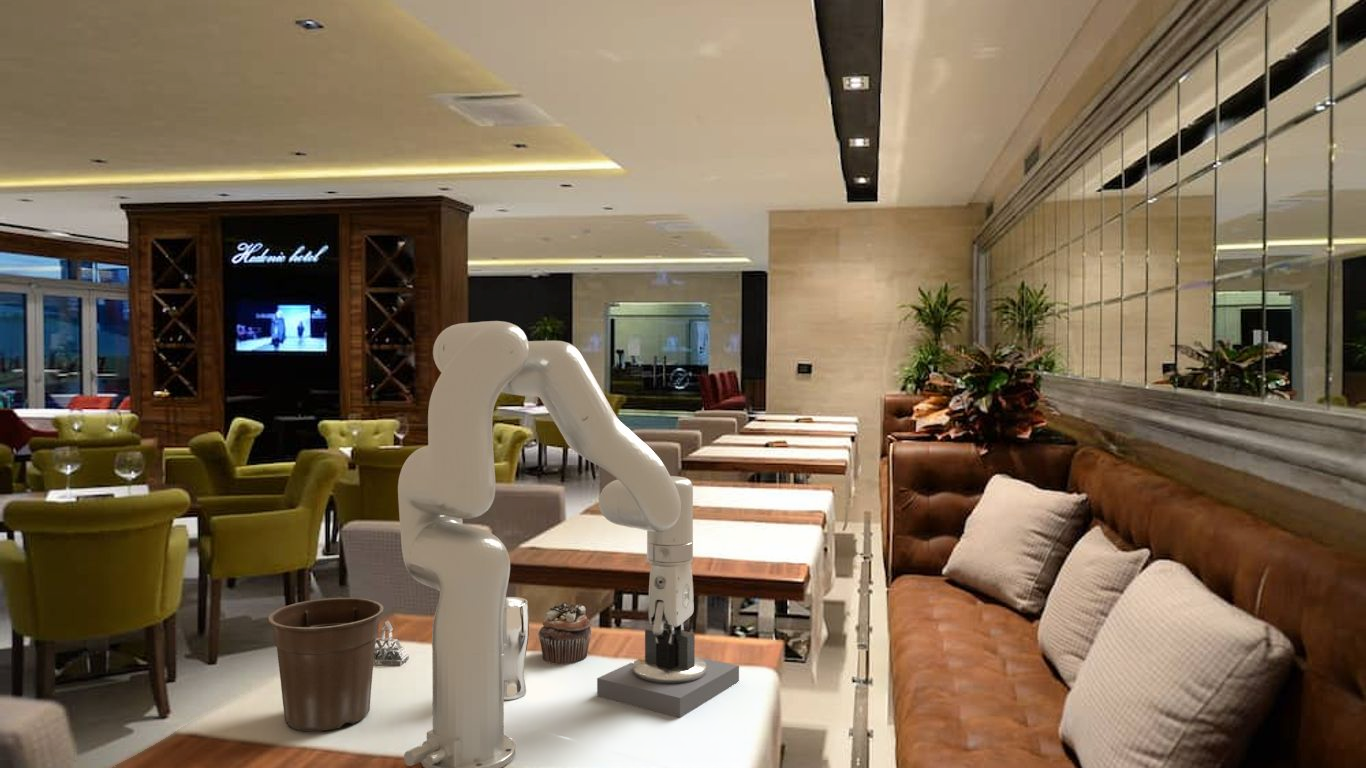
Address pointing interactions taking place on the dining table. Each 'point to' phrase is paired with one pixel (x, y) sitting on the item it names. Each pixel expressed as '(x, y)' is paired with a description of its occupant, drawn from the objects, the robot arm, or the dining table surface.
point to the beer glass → (515, 646)
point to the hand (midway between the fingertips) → (669, 662)
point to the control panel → (667, 688)
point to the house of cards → (389, 650)
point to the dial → (685, 660)
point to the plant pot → (326, 660)
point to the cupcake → (565, 634)
